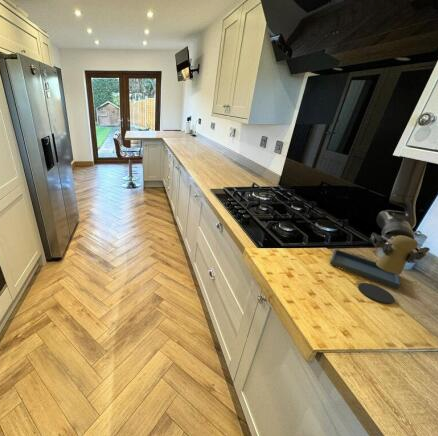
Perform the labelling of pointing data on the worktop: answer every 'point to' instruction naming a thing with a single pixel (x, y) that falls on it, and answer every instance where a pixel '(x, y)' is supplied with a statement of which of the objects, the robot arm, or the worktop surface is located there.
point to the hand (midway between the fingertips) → (399, 256)
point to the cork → (397, 254)
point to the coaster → (376, 293)
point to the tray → (364, 268)
